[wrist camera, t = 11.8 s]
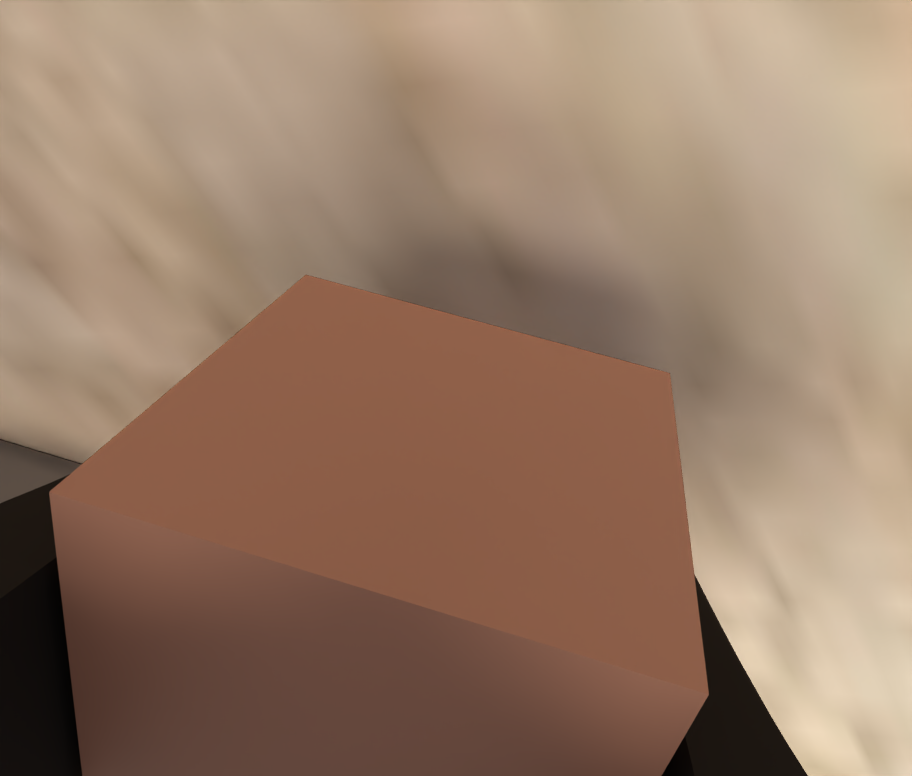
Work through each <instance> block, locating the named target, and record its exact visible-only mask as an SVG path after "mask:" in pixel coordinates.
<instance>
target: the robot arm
mask: <svg viewBox="0 0 912 776" xmlns="http://www.w3.org/2000/svg"><path fill="white" fill-rule="evenodd" d="M69 475H70V474H69ZM69 475H67V476H69ZM67 476H64V477H62V478H60V479H58V480H56V481H53V482H51V483H49V484H46V485H44V486H41V487H39V488H36V489H34V490H31V491H29V492H26V493H24V494H22V495H19V496H17V497H14V498H12V499H9V500H7V501H4V502H2V503H0V776H82V768H81V760H80V751H79V743H78V734H77V726H76V717H75V709H74V700H73V692H72V683H71V675H70V666H69V658H68V649H67V641H66V632H65V624H64V615H63V607H62V598H61V590H60V581H59V573H58V564H57V556H56V547H55V539H54V530H53V521H52V513H51V504H50V496H49V492H50V491H51V490H52V489H53V488H54V487H56V486H57V485H58V484H59V483H60V482H61V481H63V480H64V479H65V478H66V477H67ZM694 576H695V574H694ZM695 584H696V593H697V601H698V609H699V617H700V625H701V634H702V642H703V650H704V658H705V667H706V675H707V683H708V691H709V695H708V697H707V699H706V700H705V702H704V704H703V705H702V707H701V709H700V711H699V712H698V714H697V716H696V717H695V719H694V721H693V723H692V724H691V726H690V728H689V729H688V731H687V733H686V735H685V736H684V738H683V740H682V741H681V743H680V745H679V747H678V748H677V750H676V752H675V753H674V755H673V757H672V759H671V760H670V762H669V764H668V765H667V767H666V769H665V771H664V772H663V774H662V776H808V775H807V774H806V772H805V771H804V769H803V768H802V766H801V764H800V763H799V761H798V760H797V758H796V756H795V755H794V753H793V752H792V750H791V749H790V747H789V745H788V744H787V742H786V741H785V739H784V737H783V736H782V734H781V732H780V731H779V729H778V727H777V726H776V724H775V722H774V721H773V719H772V717H771V715H770V714H769V712H768V710H767V708H766V707H765V705H764V703H763V701H762V700H761V698H760V696H759V694H758V693H757V691H756V689H755V687H754V685H753V684H752V682H751V680H750V678H749V677H748V675H747V673H746V671H745V670H744V668H743V666H742V664H741V662H740V661H739V659H738V657H737V655H736V653H735V651H734V649H733V648H732V646H731V644H730V642H729V640H728V638H727V636H726V634H725V633H724V631H723V629H722V627H721V625H720V623H719V621H718V619H717V617H716V615H715V613H714V612H713V610H712V608H711V606H710V604H709V602H708V600H707V598H706V596H705V594H704V592H703V590H702V588H701V586H700V584H699V582H698V580H697V578H696V576H695Z"/></svg>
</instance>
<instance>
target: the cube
mask: <svg viewBox="0 0 912 776" xmlns="http://www.w3.org/2000/svg"><path fill="white" fill-rule="evenodd" d="M49 496H50V504H51V513H52V521H53V530H54V539H55V547H56V556H57V564H58V573H59V581H60V590H61V598H62V607H63V615H64V624H65V632H66V641H67V649H68V658H69V666H70V675H71V683H72V692H73V700H74V709H75V717H76V726H77V734H78V743H79V751H80V760H81V768H82V776H662V774H663V772H664V771H665V769H666V767H667V765H668V764H669V762H670V760H671V759H672V757H673V755H674V753H675V752H676V750H677V748H678V747H679V745H680V743H681V741H682V740H683V738H684V736H685V735H686V733H687V731H688V729H689V728H690V726H691V724H692V723H693V721H694V719H695V717H696V716H697V714H698V712H699V711H700V709H701V707H702V705H703V704H704V702H705V700H706V699H707V697H708V695H709V691H708V683H707V675H706V667H705V658H704V650H703V642H702V634H701V625H700V617H699V609H698V601H697V593H696V584H695V576H694V568H693V560H692V551H691V543H690V535H689V527H688V519H687V510H686V502H685V494H684V486H683V477H682V469H681V461H680V453H679V445H678V436H677V428H676V420H675V412H674V403H673V395H672V387H671V379H670V373H667V372H664V371H660V370H656V369H653V368H649V367H645V366H642V365H638V364H634V363H630V362H627V361H623V360H619V359H616V358H612V357H608V356H605V355H601V354H597V353H593V352H590V351H586V350H582V349H579V348H575V347H571V346H568V345H564V344H560V343H556V342H553V341H549V340H545V339H542V338H538V337H534V336H531V335H527V334H523V333H519V332H516V331H512V330H508V329H505V328H501V327H497V326H494V325H490V324H486V323H482V322H479V321H475V320H471V319H468V318H464V317H460V316H457V315H453V314H449V313H445V312H442V311H438V310H434V309H431V308H427V307H423V306H420V305H416V304H412V303H409V302H405V301H401V300H397V299H394V298H390V297H386V296H383V295H379V294H375V293H372V292H368V291H364V290H360V289H357V288H353V287H349V286H346V285H342V284H338V283H335V282H331V281H327V280H323V279H320V278H316V277H312V276H309V275H305V276H304V277H303V278H301V279H300V280H299V281H298V282H297V283H295V284H294V285H293V286H292V287H291V288H290V289H288V290H287V291H286V292H285V293H284V294H282V295H281V296H280V297H279V298H278V299H277V300H275V301H274V302H273V303H272V304H271V305H269V306H268V307H267V308H266V309H265V310H264V311H262V312H261V313H260V314H259V315H258V316H256V317H255V318H254V319H253V320H252V321H251V322H249V323H248V324H247V325H246V326H245V327H243V328H242V329H241V330H240V331H239V332H238V333H236V334H235V335H234V336H233V337H232V338H230V339H229V340H228V341H227V342H226V343H225V344H223V345H222V346H221V347H220V348H219V349H217V350H216V351H215V352H214V353H213V354H212V355H210V356H209V357H208V358H207V359H206V360H204V361H203V362H202V363H201V364H200V365H199V366H197V367H196V368H195V369H194V370H193V371H191V372H190V373H189V374H188V375H187V376H186V377H184V378H183V379H182V380H181V381H180V382H178V383H177V384H176V385H175V386H174V387H173V388H171V389H170V390H169V391H168V392H167V393H165V394H164V395H163V396H162V397H161V398H160V399H158V400H157V401H156V402H155V403H154V404H152V405H151V406H150V407H149V408H148V409H147V410H145V411H144V412H143V413H142V414H141V415H139V416H138V417H137V418H136V419H135V420H134V421H132V422H131V423H130V424H129V425H128V426H126V427H125V428H124V429H123V430H122V431H121V432H119V433H118V434H117V435H116V436H115V437H113V438H112V439H111V440H110V441H109V442H108V443H106V444H105V445H104V446H103V447H102V448H100V449H99V450H98V451H97V452H96V453H95V454H93V455H92V456H91V457H90V458H89V459H87V460H86V461H85V462H84V463H83V464H82V465H80V466H79V467H78V468H77V469H76V470H74V471H73V472H72V473H71V474H70V475H69V476H67V477H66V478H65V479H64V480H63V481H61V482H60V483H59V484H58V485H57V486H56V487H54V488H53V489H52V490H51V491H50V492H49Z"/></svg>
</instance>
